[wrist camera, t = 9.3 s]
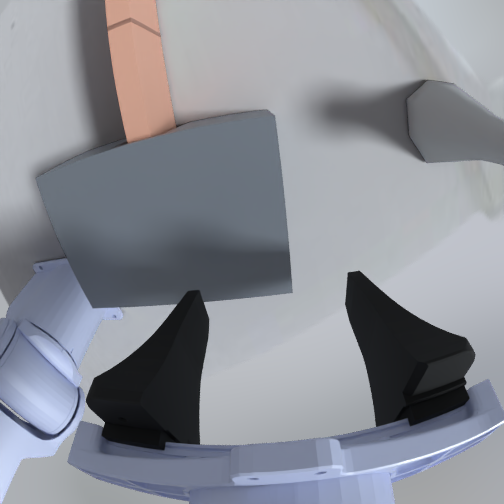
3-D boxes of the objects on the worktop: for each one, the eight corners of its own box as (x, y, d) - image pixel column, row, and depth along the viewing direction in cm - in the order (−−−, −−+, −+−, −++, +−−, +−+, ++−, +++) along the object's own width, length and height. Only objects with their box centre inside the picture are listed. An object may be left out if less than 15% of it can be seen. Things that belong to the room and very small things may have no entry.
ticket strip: (162, 156, 19) (136, 177, 14) (133, -30, 10) (103, -53, 6) (181, 152, 18) (159, 171, 14) (151, -36, 10) (125, -63, 6)
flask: (391, 91, 16) (483, 104, 7) (455, 71, 14) (546, 83, 6) (419, 175, 19) (498, 233, 11) (476, 148, 17) (556, 190, 9)
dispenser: (124, 257, 23) (92, 308, 18) (88, 150, 18) (35, 178, 12) (282, 237, 22) (292, 292, 17) (267, 109, 17) (274, 115, 11)
